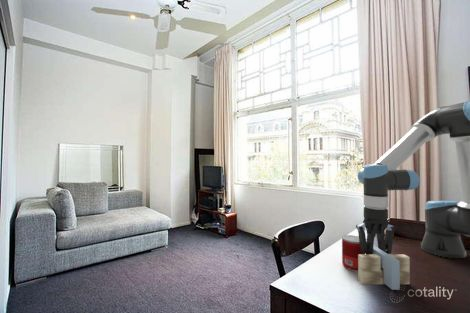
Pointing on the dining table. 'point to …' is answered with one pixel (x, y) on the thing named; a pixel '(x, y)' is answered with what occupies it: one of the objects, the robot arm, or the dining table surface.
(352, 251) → the canned food
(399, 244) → the dining table surface
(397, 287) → the pale blue plate
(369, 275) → the birch plate
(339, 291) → the dining table surface
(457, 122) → the robot arm
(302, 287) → the dining table surface
